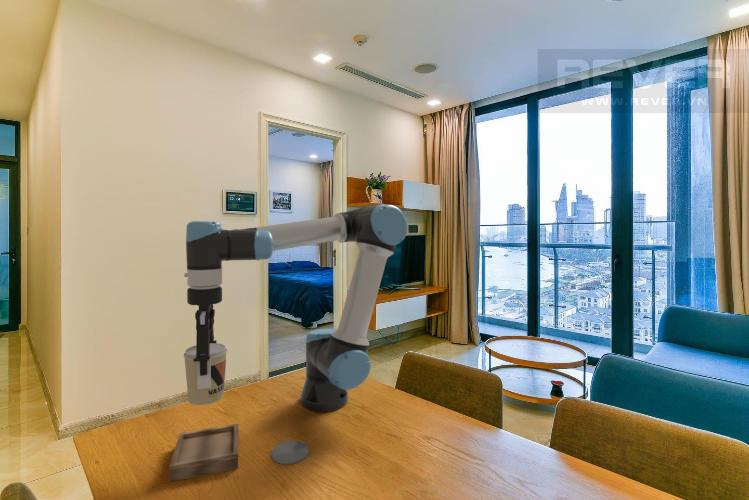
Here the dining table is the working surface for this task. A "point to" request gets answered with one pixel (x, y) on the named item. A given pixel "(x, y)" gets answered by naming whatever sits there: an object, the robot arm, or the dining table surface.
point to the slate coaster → (289, 452)
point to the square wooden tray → (205, 452)
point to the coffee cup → (217, 375)
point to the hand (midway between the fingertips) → (206, 379)
